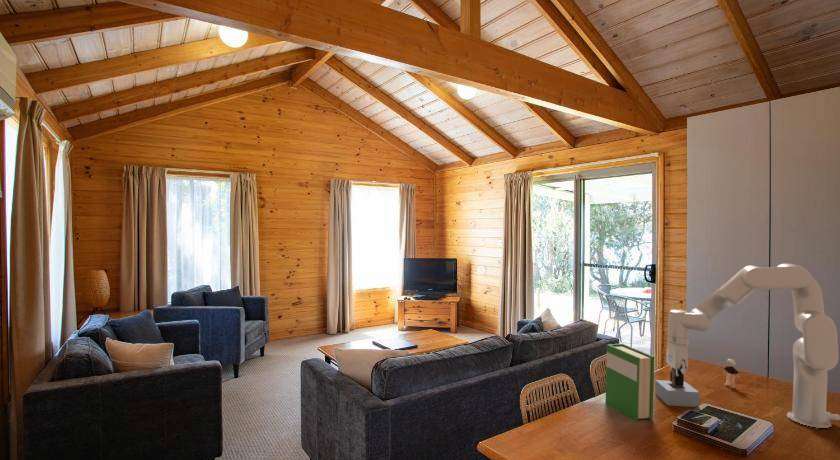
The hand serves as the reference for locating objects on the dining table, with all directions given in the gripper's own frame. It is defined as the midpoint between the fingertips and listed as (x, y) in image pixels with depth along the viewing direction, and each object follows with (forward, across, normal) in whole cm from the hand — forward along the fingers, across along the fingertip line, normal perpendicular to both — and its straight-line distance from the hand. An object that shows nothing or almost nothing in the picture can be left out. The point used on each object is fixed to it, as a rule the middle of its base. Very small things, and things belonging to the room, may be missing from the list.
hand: (676, 383), depth 186 cm
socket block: (+7, 0, 0) cm, 7 cm away
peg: (+4, 0, 0) cm, 4 cm away
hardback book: (+7, +14, -24) cm, 29 cm away
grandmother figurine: (+7, -20, +32) cm, 38 cm away
